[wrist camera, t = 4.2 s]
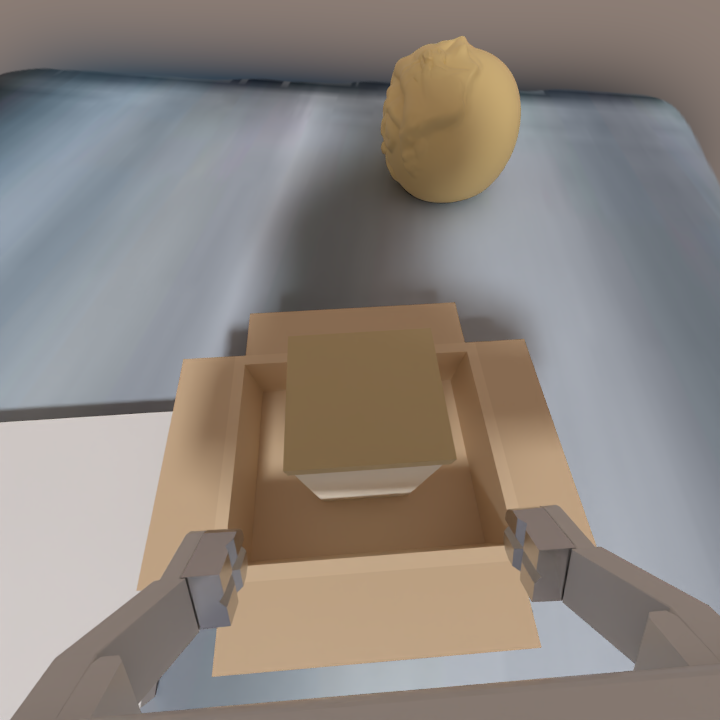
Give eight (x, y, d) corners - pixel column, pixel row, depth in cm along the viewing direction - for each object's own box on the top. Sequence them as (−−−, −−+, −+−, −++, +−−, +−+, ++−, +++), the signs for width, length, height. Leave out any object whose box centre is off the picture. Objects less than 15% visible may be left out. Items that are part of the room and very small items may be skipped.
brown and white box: (409, 497, 20) (457, 458, 10) (321, 503, 20) (283, 471, 10) (399, 420, 22) (430, 328, 12) (320, 425, 22) (288, 336, 12)
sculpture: (374, 150, 37) (379, 15, 27) (482, 147, 37) (524, 12, 28) (382, 221, 31) (391, 84, 22) (508, 217, 32) (571, 80, 22)
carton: (567, 616, 17) (629, 639, 13) (174, 649, 17) (116, 685, 13) (486, 336, 25) (510, 299, 21) (219, 352, 25) (192, 316, 21)
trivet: (154, 696, 16) (139, 708, 15) (-151, 724, 16) (-189, 737, 14) (200, 416, 22) (192, 410, 21) (-14, 429, 22) (-33, 424, 21)
